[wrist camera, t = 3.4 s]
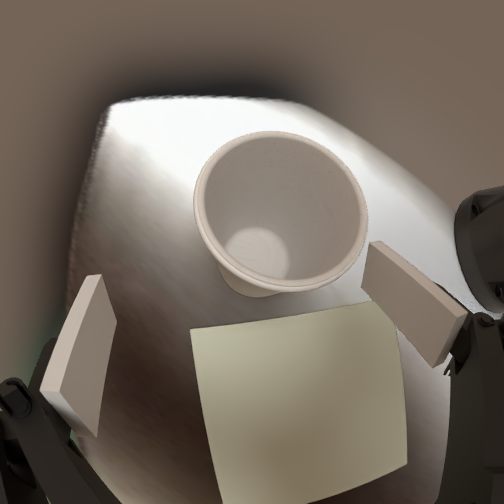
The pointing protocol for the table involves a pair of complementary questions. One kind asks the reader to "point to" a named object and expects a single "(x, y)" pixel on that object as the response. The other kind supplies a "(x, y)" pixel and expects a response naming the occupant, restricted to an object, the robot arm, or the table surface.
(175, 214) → the table surface
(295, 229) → the dixie cup
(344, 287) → the table surface
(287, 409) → the sage mat
